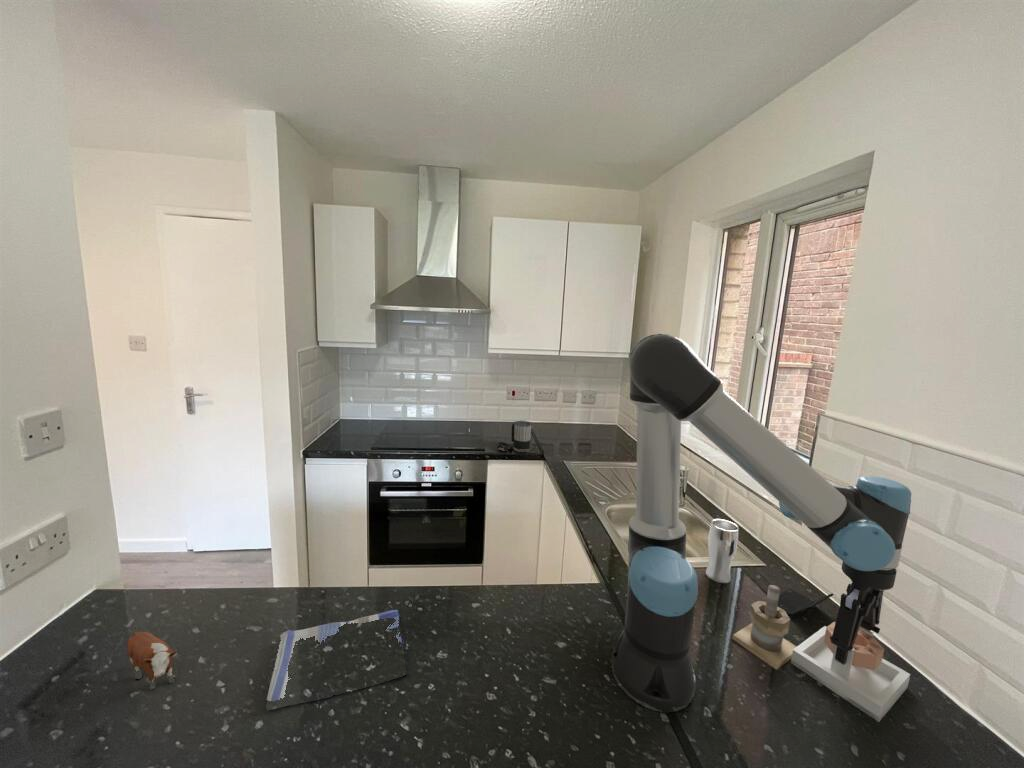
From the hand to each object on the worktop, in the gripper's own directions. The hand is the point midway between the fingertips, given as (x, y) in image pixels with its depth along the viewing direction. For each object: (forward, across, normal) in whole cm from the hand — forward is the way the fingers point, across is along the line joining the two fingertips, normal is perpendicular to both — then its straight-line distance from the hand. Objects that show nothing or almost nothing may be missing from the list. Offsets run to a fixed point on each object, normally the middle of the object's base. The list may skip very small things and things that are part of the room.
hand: (848, 665), depth 80 cm
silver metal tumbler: (+2, -7, -32) cm, 32 cm away
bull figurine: (+2, +115, -60) cm, 130 cm away
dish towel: (+3, +86, -50) cm, 99 cm away
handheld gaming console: (+3, -13, -14) cm, 20 cm away
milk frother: (+2, -12, -146) cm, 147 cm away
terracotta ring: (-3, 0, 0) cm, 3 cm away
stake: (+2, +7, -12) cm, 14 cm away
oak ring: (-3, +7, -12) cm, 14 cm away
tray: (+2, 0, 0) cm, 2 cm away
